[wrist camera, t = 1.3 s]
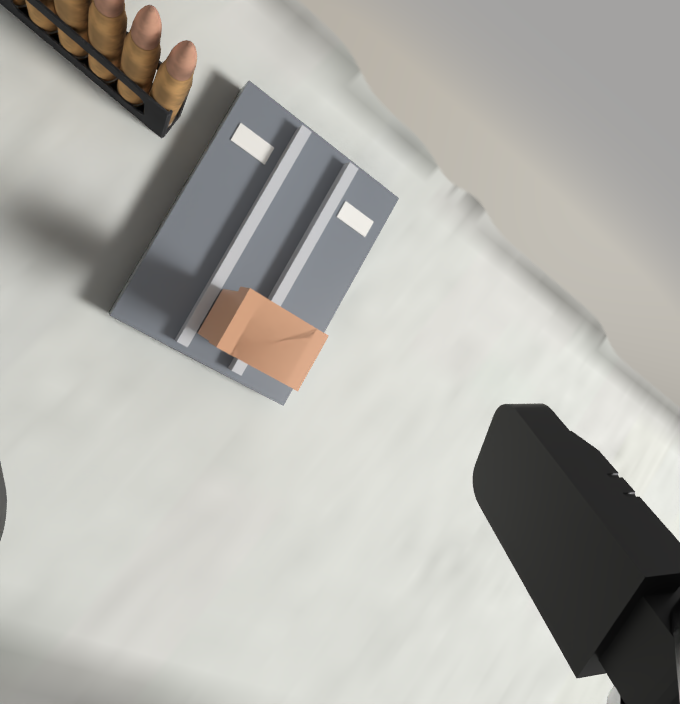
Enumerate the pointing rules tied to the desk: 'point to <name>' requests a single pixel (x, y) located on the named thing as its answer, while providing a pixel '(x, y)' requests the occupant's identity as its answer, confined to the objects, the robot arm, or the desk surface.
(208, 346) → the fader console
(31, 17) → the ammunition clip
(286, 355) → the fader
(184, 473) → the desk surface
